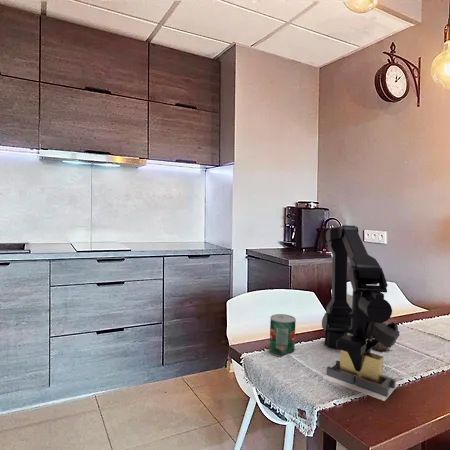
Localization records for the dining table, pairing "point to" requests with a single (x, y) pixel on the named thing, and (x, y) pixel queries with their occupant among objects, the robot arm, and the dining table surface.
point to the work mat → (360, 387)
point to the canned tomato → (282, 334)
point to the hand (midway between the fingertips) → (360, 368)
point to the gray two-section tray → (362, 380)
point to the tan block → (364, 366)
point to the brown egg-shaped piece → (379, 346)
